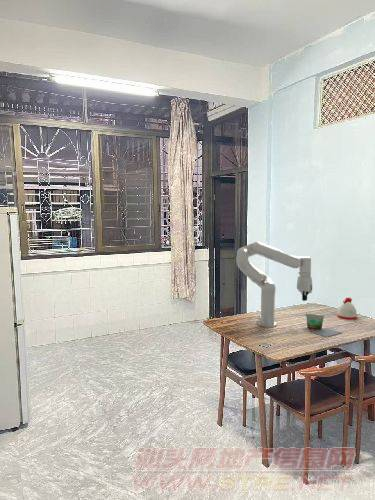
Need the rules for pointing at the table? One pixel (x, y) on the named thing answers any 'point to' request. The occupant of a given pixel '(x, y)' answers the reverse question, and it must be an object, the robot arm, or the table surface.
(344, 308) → the white bobble hat
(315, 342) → the table surface
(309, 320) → the food container
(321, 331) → the mat
